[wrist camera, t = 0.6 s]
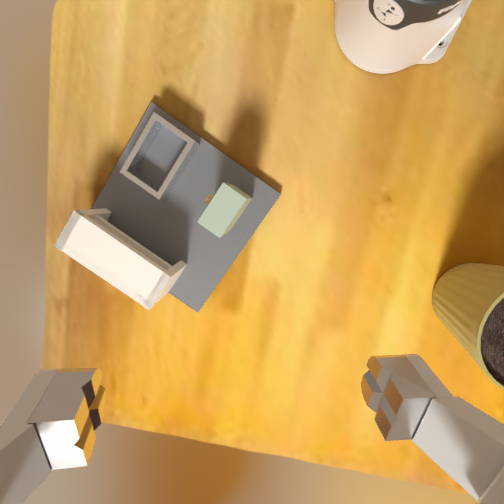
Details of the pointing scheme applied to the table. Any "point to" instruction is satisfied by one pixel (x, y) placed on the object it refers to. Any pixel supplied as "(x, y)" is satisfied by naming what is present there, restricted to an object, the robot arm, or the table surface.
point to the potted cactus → (475, 313)
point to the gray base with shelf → (165, 222)
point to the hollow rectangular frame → (142, 149)
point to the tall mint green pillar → (224, 209)
